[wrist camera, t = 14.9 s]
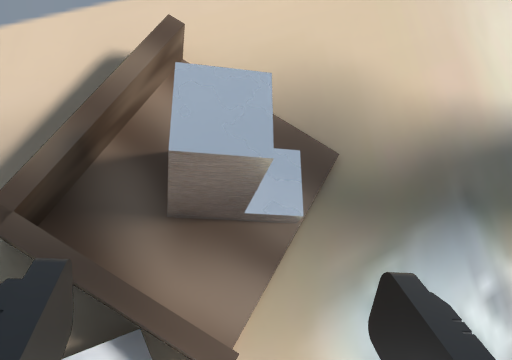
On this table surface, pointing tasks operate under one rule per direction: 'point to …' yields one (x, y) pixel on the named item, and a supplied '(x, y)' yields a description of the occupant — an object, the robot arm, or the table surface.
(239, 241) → the walnut corner tray
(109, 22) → the table surface
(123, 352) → the z bracket
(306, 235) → the table surface
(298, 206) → the aluminium bracket
